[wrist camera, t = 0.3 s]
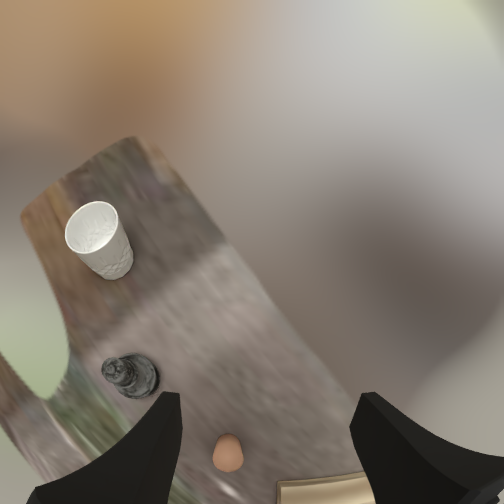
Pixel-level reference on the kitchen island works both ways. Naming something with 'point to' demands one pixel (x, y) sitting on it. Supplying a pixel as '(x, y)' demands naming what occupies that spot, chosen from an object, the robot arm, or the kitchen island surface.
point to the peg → (228, 453)
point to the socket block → (327, 490)
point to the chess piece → (132, 375)
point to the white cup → (100, 240)
